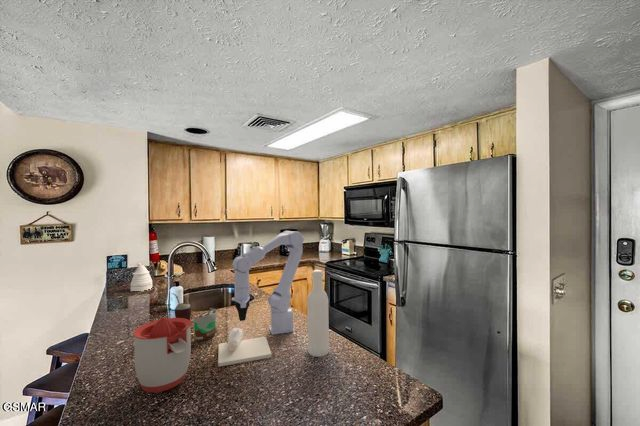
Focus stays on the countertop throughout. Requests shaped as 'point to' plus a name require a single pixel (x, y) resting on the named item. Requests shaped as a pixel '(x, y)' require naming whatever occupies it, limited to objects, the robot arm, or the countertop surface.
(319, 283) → the bottle
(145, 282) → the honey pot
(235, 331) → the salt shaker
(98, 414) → the countertop surface
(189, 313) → the mate gourd
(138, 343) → the citrus juicer
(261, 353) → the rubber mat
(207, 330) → the food container
